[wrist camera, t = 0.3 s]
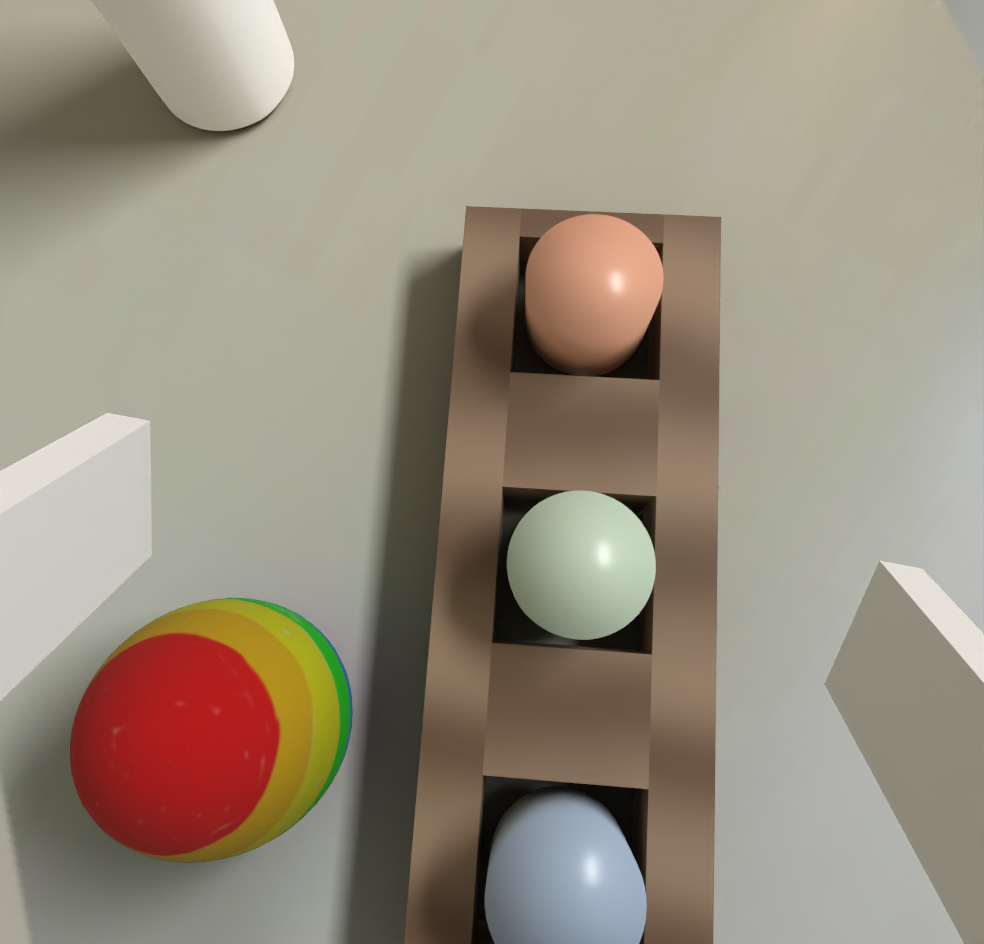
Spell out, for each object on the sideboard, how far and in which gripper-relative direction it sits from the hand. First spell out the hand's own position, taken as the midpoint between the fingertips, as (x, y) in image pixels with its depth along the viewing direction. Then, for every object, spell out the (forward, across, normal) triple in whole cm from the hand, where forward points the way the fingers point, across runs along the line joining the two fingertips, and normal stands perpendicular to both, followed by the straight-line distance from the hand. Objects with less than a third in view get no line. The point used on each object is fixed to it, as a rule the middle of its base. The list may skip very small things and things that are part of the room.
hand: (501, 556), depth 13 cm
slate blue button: (+7, -4, +15) cm, 17 cm away
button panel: (+14, -3, +8) cm, 16 cm away
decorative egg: (+11, +7, +14) cm, 19 cm away
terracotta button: (+18, -2, -1) cm, 18 cm away
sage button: (+12, -3, +7) cm, 14 cm away
